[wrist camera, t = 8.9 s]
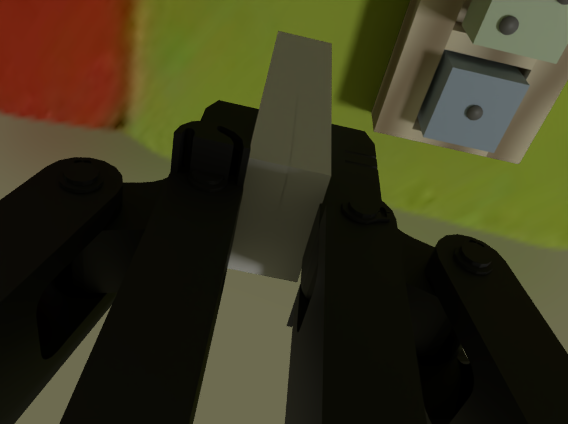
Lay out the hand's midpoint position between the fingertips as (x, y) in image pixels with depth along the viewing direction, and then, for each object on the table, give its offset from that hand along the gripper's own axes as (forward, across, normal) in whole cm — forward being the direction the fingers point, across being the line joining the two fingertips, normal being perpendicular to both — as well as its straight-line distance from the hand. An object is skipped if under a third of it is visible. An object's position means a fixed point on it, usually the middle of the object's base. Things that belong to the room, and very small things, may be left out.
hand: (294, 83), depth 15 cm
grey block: (+28, +15, -9) cm, 33 cm away
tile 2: (+26, +15, -1) cm, 30 cm away
